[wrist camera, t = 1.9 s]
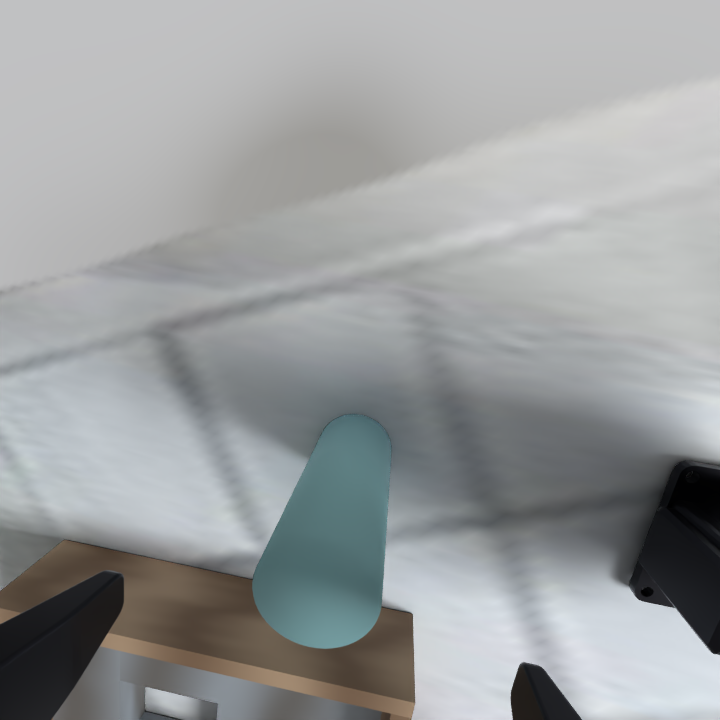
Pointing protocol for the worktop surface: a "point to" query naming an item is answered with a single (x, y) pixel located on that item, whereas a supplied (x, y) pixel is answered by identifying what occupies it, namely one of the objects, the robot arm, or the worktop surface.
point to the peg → (330, 540)
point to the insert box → (215, 647)
